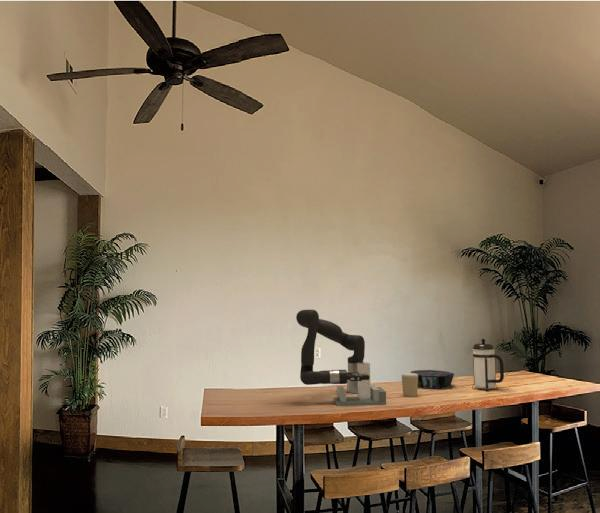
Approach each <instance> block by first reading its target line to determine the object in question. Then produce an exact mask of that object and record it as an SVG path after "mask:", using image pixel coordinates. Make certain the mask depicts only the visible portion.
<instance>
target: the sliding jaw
mask: <svg viewBox="0 0 600 513" xmlns="http://www.w3.org/2000/svg"><path fill="white" fill-rule="evenodd" d="M336 397H337V398H338V399H339V401H340V402H346V397H347V389H345V387H344V386H342V385H338V386H336Z"/></svg>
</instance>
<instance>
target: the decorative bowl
mask: <svg viewBox="0 0 600 513" xmlns="http://www.w3.org/2000/svg"><path fill="white" fill-rule="evenodd" d="M409 373H415V374H418V387H419V388H421V389H433V390H436V389H438V390H439V389H442V390H443V389H448V388H450V387H451V385H452V382H453V379H454V376H455V373H454V372H450V371H445V370H439V369H437V370H435V369H419V370H418V369H415V370H411V371H410V372H409Z"/></svg>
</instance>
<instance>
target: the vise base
mask: <svg viewBox="0 0 600 513" xmlns="http://www.w3.org/2000/svg"><path fill="white" fill-rule="evenodd" d="M370 388H371V400H359V399H358V396H346V402H340V401H339V399H338V398H337V396H333V398H332V401H333V402H334V403H336V404H335V406H337V407H339V406H341V407H342V406H344V407H346V406H376V405H377V406H378V405H379V406H381V405H383V406H384V405H385V404H386V405H387V391H386V390H385V389H384V388H382V387H381V386H376V385H371V384H370Z"/></svg>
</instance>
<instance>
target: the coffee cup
mask: <svg viewBox="0 0 600 513" xmlns="http://www.w3.org/2000/svg"><path fill="white" fill-rule="evenodd" d="M400 376H401V385H402V395H403V397H407V398H416V397H418V387H419V386H418V374H415V373H410V372H405V373H403V372H402V373H401V375H400Z"/></svg>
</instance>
